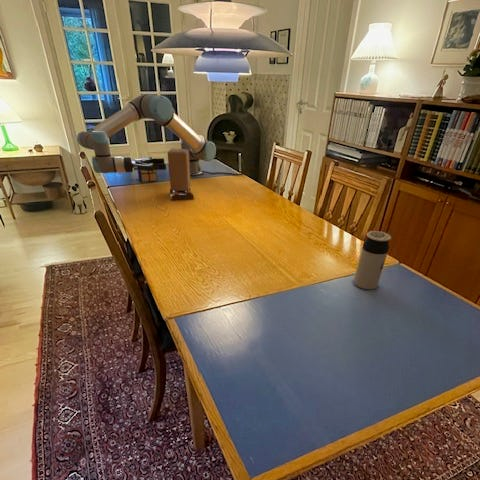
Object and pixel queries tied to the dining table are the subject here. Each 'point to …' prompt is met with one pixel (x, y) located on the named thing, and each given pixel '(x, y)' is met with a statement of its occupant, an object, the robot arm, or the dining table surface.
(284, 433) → the dining table surface
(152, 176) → the puzzle cube
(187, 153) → the block
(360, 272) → the travel mug
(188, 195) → the brown tray
